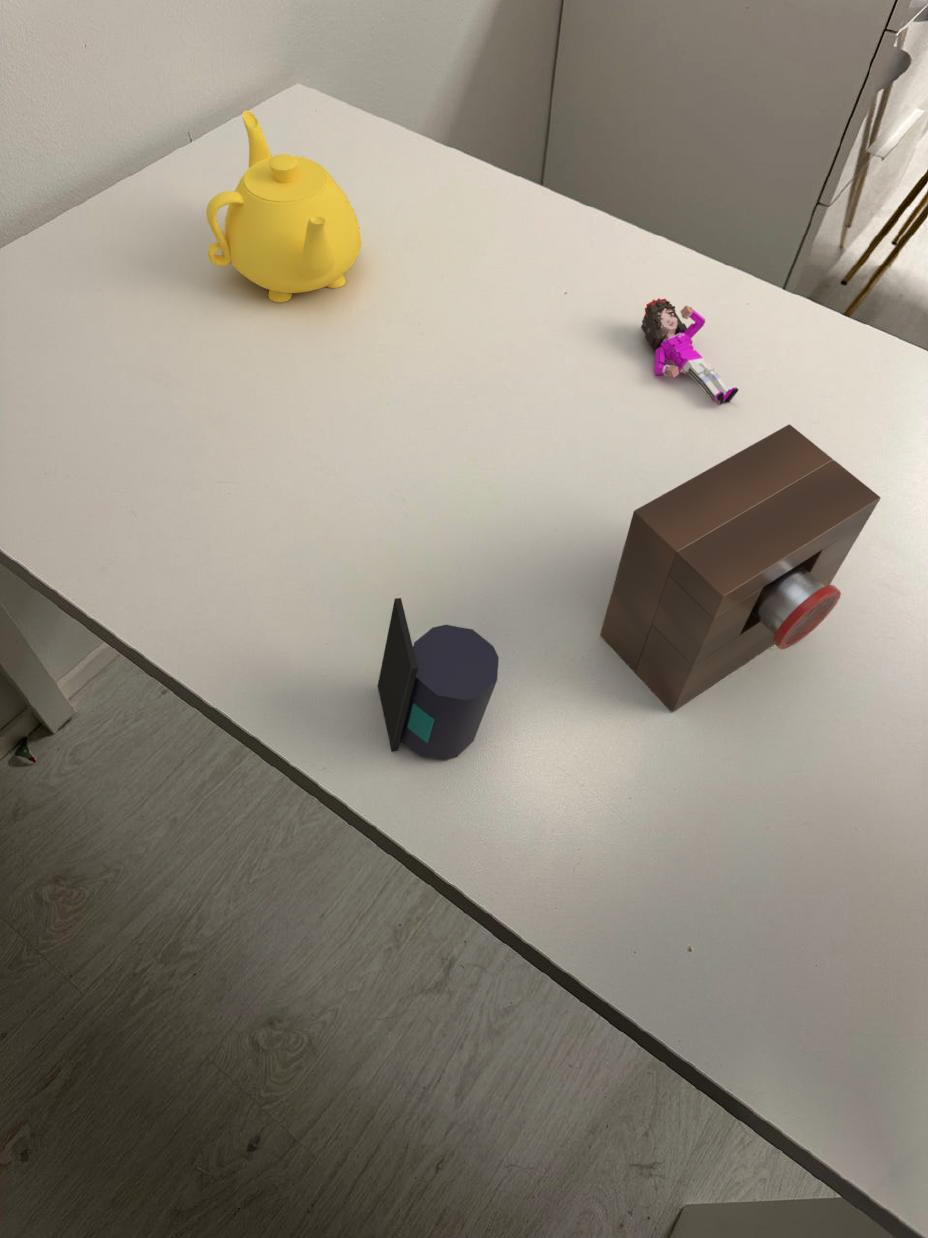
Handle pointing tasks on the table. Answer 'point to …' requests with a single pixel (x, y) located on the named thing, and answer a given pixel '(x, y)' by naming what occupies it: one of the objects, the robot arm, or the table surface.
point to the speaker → (435, 686)
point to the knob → (794, 605)
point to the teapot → (285, 223)
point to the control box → (727, 560)
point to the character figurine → (681, 348)
